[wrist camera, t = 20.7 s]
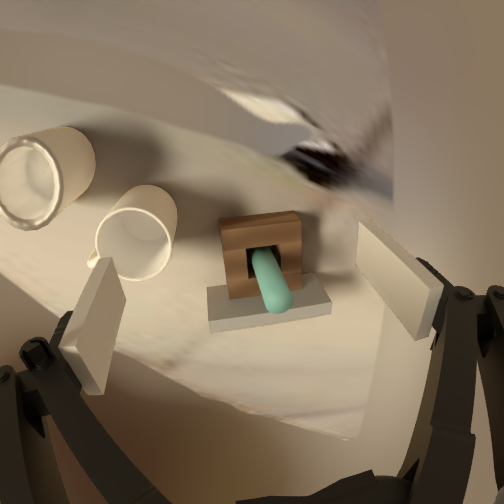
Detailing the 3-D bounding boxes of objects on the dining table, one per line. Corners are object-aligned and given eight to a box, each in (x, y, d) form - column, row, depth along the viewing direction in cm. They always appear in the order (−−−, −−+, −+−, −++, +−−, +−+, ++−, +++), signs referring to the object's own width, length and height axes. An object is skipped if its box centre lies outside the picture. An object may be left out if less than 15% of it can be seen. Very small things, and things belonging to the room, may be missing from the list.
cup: (189, 224, 42) (186, 259, 33) (118, 264, 43) (100, 305, 34) (157, 171, 38) (144, 192, 29) (85, 217, 39) (57, 249, 30)
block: (218, 219, 42) (220, 230, 39) (293, 210, 43) (301, 220, 40) (227, 284, 47) (229, 299, 43) (294, 274, 48) (301, 288, 44)
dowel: (247, 240, 44) (264, 292, 33) (269, 238, 45) (293, 288, 33) (248, 260, 46) (265, 315, 34) (269, 257, 46) (293, 311, 34)
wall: (206, 287, 46) (208, 321, 39) (313, 272, 48) (332, 301, 41) (208, 298, 47) (210, 333, 40) (313, 283, 49) (331, 314, 42)
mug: (13, 197, 36) (-28, 224, 26) (13, 126, 32) (-32, 137, 22) (94, 204, 39) (64, 235, 29) (99, 127, 35) (66, 135, 25)
